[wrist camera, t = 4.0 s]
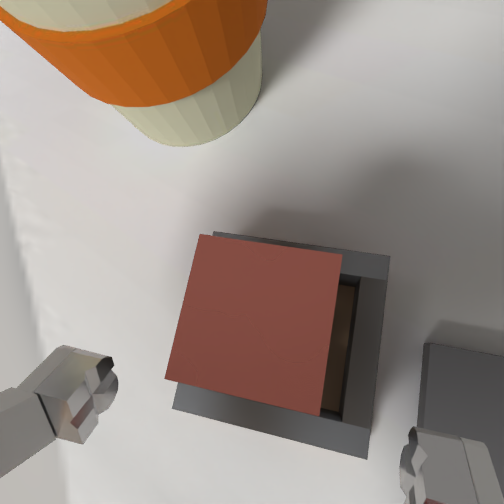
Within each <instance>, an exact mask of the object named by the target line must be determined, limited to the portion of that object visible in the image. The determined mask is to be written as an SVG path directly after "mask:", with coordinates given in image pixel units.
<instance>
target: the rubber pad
mask: <svg viewBox="0 0 504 504" xmlns="http://www.w3.org/2000/svg"><path fill="white" fill-rule="evenodd" d="M417 427H419V428H423V429H428V430H433V431H437V432H442V433H446V434H451V435H456V436H458V437H461V438H466V439H471V440H475V441H480V442H483V443H484V444H485V445H486V446H487V448H488V451H489V454H490V457H491V460H492V464H493V467H494V470H495V473H496V476H497V479H498V483H499V486H500V489H501V492H502V495H503V498H504V357H503V356H497V355H492V354H487V353H481V352H476V351H471V350H465V349H460V348H455V347H449V346H444V345H439V344H433V343H424V349H423V361H422V372H421V384H420V396H419V408H418V419H417Z"/></svg>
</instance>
